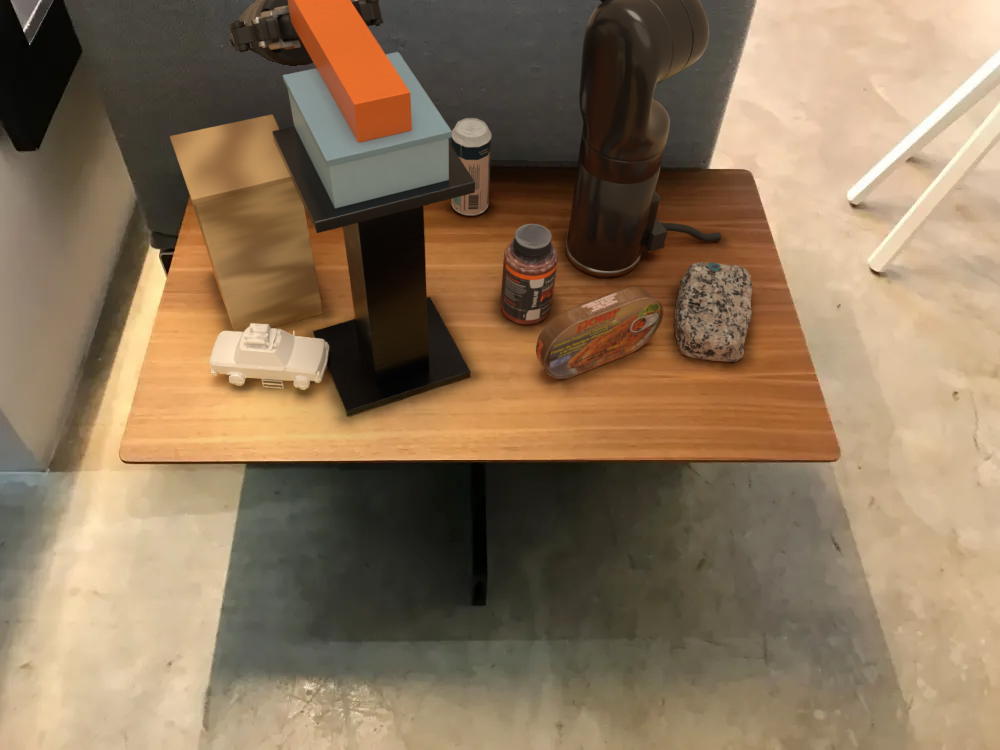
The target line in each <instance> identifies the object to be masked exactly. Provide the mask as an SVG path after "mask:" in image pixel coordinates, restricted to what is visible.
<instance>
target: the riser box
mask: <svg viewBox="0 0 1000 750" xmlns="http://www.w3.org/2000/svg"><path fill="white" fill-rule="evenodd" d="M275 130H280V126H279V125H278V123H277V121H276V118H275V116H274V114H267V115H263V116H257V117H252V118H248V119H244V120H239V121H236V122H235V121H234V122H230V123H225V124H220V125H215V126H211V127H206V128H201V129H196V130H193V131H187V132H183V133H178V134H174V135H169V139H170V142H171V144H172V147H173V151H174V153H175V156H176V159H177V162H178V165H179V168H180V170H181V171H180V172H181V173H182V177H183V179H184V183H185V186H186V188H187V191H188V195H189V197H190V200H191V202H192V206H193V209H194V213H195V216H196V219H197V223H198V225H199V230H200V232H201V236H202V239H203V242H204V246H205V249H206V252H207V254H208V258H209V261H210V265H211V268H212V271H213V275H214V278H215V281H216V284H217V287H218V290H219V293H220V296H221V298H222V301H223V304H224V308H225V310H226V313H227V316H228V319H229V321H230V324H231V327H232V331H237V332H244V331H245V330H246V329H247V328H248V327H250V324H251V323H256V324H269V326H270V327H271V328H272V329H275V328H276V327H281V326H283V325H287V324H290V323H295V322H298V321H302V320H304V319H309V318H312V317H315V316H319V315H322V314H324V312H323V310H324V309H323V305H322V300H321V295H320V293H321V292H320V288H319V282H318V277H317V271H316V265H315V260H314V254H313V248H312V243H311V237H310V231H309V226H308V220H307V213H306V209H305V207H304V205H303V203H302V201H301V199H300V196H299V194H298V192H297V190H296V188H295V186H294V184H293V181H292V179H291V177H290V175H289V173H288V171H287V168H286V166H285V164H284V162H283V160H282V158H281V155H280V153H279V151H278V149H277V147H276V145H275V142H274V138H273V133H272V131H275Z"/></svg>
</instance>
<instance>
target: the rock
mask: <svg viewBox="0 0 1000 750" xmlns="http://www.w3.org/2000/svg"><path fill="white" fill-rule="evenodd" d="M751 278H752V275H751V274H750V273H749V271H748V270H747V268H744V267H743V266H741V265H737V264H724V263H717V262H701V261H700V262H695V263H692V264H689V267H688V268H687V269H686V271H684V275H683V276H682V277H681V278H680V280H679V290H678V293H677V294H678V296H677V299H676V301H675V302H676V303H675V307H674V319H673V320H674V330H675V338H676V345H677V347H678V350H679V351H680V353H681V354H682V355H684V356H686V357H689V358H692V359H700V360H706V361H711V362H712V361H714V362H716V361H717V362H730V363H737V362H738V361H739V360H741V359H743V357H744V356H745V354H744V353H745V350H744V345H745V342H746V341H745V340H746V338H747V334H748V333H747V332H748V331H749V327H750V323H751V318H752V316H753V315H752V314H753V311H752V302H751V300H752V296H753V288H752V286H753V284H752V280H751Z"/></svg>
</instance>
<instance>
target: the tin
mask: <svg viewBox="0 0 1000 750" xmlns="http://www.w3.org/2000/svg"><path fill="white" fill-rule="evenodd" d="M663 318H664V307H663V304H662V303H661V302H660V300H659V299H657V298H655V296H654V295H653V294H652V293H650V291H649V290H648V289H646V288H644V287H642V286H637V285H636V286H635V285H634V286H627V287H624V288H621V289H618V290H616V291H613V292H610V293H607V294H604V295H602V296H599V297H597V298H594V299H592V300H589V301H586V302H583V303H581V304H579V305H576V306H573V307H570V308H568V309H565V310H563V311H562V312H560V313H558V314H557V315H555V317H553V318H551V320H550V321H548V323H546V324H545V326H544V327H543V328H542V330H541V331H540V333H539V335H538V338H537V341H536V347H535V355H536V357H537V359H538V361H539V363H540V364H541V365H542V366H543V369H544V371H545V373H546V374H547V375H548V376H550V377H551V378H553V379H557V380H558V379H559V380H565V379H566V380H567V379H569V378H573V377H574V378H575V377H576V376H579V375H581V374H583V373H587V372H588V371H591V370H594V369H596V368H599V367H600V366H604V365H605V364H608V363H611V362H613V361H616V360H619V359H620V358H623V357H627V356H628V355H630V354H632V353H634V352H636V351H637V350H639V349H641V348H642V347H643V346H644V345H646V344H647V343H648V342H649V341H650V340H651V339H652V338H653V337H654V335H655V334H656V332H657V331H658V329H659V327H660V326H661V324H662V321H663Z"/></svg>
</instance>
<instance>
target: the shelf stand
mask: <svg viewBox="0 0 1000 750" xmlns="http://www.w3.org/2000/svg"><path fill="white" fill-rule="evenodd" d="M279 129H280V128H279ZM272 133H273V138H274V142H275V145H276V147H277V149H278V151H279V153H280V155H281V158H282V160H283V162H284V164H285V166H286V168H287V171H288V173H289V175H290V177H291V179H292V181H293V184H294V186H295V188H296V190H297V192H298V194H299V196H300V199H301V201H302V203H303V205H304V208H305V213H306V215H307V216H308V218H309V220H310V222H311V224H312V227H313V229H314V231H315V233H316V234H322V233H324V232H328V231H332V230H336V229H340V228H342V231H343V239H344V246H345V247H344V248H345V255H346V262H347V268H348V276H349V284H350V291H351V292H350V293H351V298H352V299H351V300H352V306H353V307H352V308H353V313H354V314H353V315H354V318H353V319H350V320H347V321H343V322H339V323H336V324H333V325H329V326H326V327H322V328H319V329H316V330H313V331H312V334H313V338H319V339H324V340H325V342H327V343H328V344H329V355H328V361H327V366H326V369H327V372H328V374H329V377H330V379H331V381H332V384H333V387H334V389H335V391H336V394H337V395H338V398H339V400H340V403H341V406H342V408H343V410H344V413H345V415H346V417H347V418H348V417H352V416H354V415H357V414H361V413H364V412H366V411H370V410H373V409H377V408H379V407H382V406H385V405H388V404H392V403H395V402H397V401H400V400H404V399H407V398H410V397H413V396H416V395H419V394H423V393H425V392H429V391H431V390H434V389H437V388H441V387H443V386H447V385H450V384H453V383H456V382H459V381H463V380H467V379H468V378H471V370H470V367H469V366H468V364H467V362H466V360H465V359H464V357H463V355H462V353H461V352H460V351H461V350H460V349H459V348H458V346H457V344H456V342H455V340H454V338H453V336H452V335H451V332H450V331H449V329H448V327H447V326H446V323H445V322H444V319H443V318H442V316H441V314H440V313H439V310H438V309H437V307H436V305H435V303H434V301H433V300H432V297H431V296H428V295H427V268H426V266H427V265H426V264H427V263H426V240H425V239H426V238H425V236H426V235H425V210H424V207H425V206H428V205H429V206H430V205H433V204H437V203H440V202H444V201H448V200H451V199H452V198H456V197H460V196H464V195H468V194H472V193H475V181H474V180H473V178H472V177H471V175H470V174H469V172H468V171H467V169H466V168H465V166H464V164H463V163H462V161H461V160H460V158H459V157H458V155H457V154H456V152H455V151H454V149H453V148H452V146H451V144H450V143H451V142H449V180H447V181H443V182H439V183H435V184H431V185H427V186H423V187H419V188H415V189H411V190H407V191H403V192H399V193H395V194H391V195H387V196H383V197H379V198H375V199H371V200H367V201H363V202H359V203H355V204H351V205H347V206H343V207H340V208H335V207H334V205H333V203H332V201H331V199H330V197H329V195H328V193H327V191H326V189H325V187H324V185H323V183H322V181H321V179H320V177H319V175H318V173H317V171H316V169H315V167H314V165H313V163H312V161H311V159H310V157H309V155H308V153H307V151H306V149H305V147H304V145H303V143H302V141H301V139H300V136H299V134H298V132H297V130H296V128H295V126H294V125H293V126H289V127H284V128H281V129H280V130H275V131H272ZM427 296H428V297H427Z"/></svg>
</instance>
